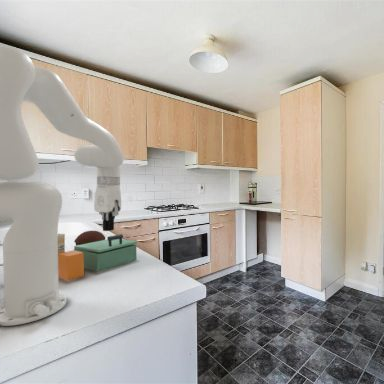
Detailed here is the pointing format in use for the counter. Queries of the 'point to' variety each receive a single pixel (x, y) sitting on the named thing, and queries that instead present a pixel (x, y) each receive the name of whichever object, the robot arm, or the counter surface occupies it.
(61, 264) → the juice carton
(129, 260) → the lunchbox
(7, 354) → the counter surface
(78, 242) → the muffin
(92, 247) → the lunchbox lid
